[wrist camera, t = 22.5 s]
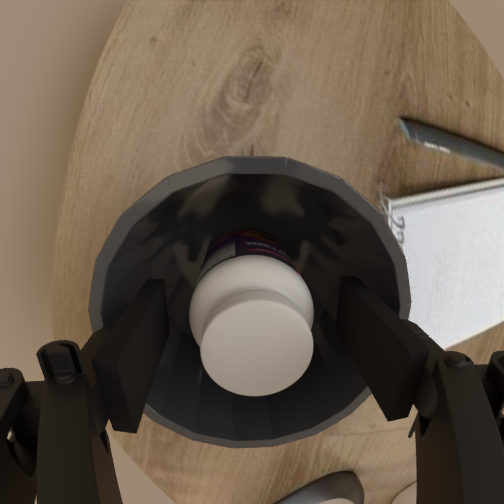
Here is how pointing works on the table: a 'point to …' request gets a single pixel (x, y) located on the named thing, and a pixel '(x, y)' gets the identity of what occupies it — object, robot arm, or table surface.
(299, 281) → the pill bottle
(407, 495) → the mug
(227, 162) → the canister
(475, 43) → the table surface
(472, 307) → the table surface
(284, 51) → the table surface
